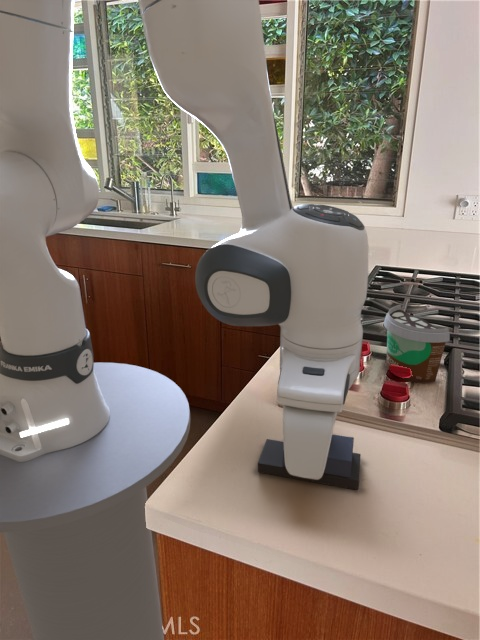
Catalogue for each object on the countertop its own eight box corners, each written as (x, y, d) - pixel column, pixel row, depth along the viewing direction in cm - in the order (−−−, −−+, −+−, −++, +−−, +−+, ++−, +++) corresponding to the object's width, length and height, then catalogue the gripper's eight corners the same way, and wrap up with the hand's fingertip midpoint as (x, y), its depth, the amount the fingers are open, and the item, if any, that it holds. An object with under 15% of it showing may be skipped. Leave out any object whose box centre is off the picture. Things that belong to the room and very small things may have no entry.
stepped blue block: (257, 472, 57) (257, 447, 55) (266, 447, 61) (266, 423, 60) (358, 490, 54) (360, 464, 52) (359, 462, 58) (362, 437, 57)
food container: (364, 360, 84) (369, 308, 80) (392, 354, 86) (399, 303, 82) (411, 393, 73) (419, 335, 69) (441, 385, 75) (451, 329, 71)
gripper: (304, 318, 61) (301, 407, 67) (273, 399, 43) (271, 512, 49) (353, 322, 60) (345, 413, 65) (342, 408, 42) (332, 524, 47)
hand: (313, 456), depth 57 cm, fingers closed on stepped blue block, 4 cm apart
